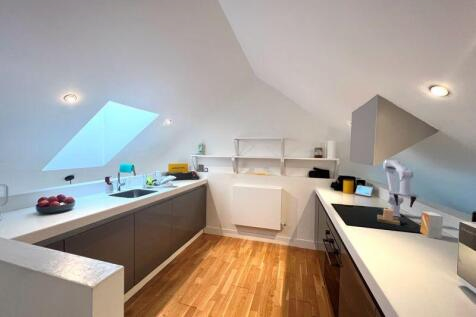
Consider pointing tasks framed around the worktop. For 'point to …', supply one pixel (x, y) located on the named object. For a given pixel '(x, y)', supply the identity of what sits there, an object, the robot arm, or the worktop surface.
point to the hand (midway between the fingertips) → (403, 206)
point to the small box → (431, 224)
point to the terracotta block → (388, 214)
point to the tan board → (388, 220)
